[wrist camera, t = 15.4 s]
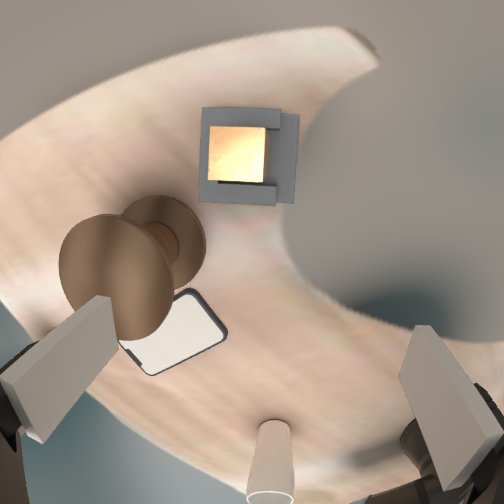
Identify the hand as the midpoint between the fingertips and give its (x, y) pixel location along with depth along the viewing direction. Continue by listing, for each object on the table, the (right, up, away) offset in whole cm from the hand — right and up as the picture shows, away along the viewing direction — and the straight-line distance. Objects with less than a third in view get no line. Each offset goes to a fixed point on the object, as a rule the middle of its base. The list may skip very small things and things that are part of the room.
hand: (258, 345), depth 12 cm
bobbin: (-12, +5, +26) cm, 29 cm away
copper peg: (0, +14, +21) cm, 25 cm away
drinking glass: (+4, -26, +34) cm, 43 cm away
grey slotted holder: (0, +14, +22) cm, 26 cm away
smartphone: (-12, -8, +30) cm, 34 cm away
